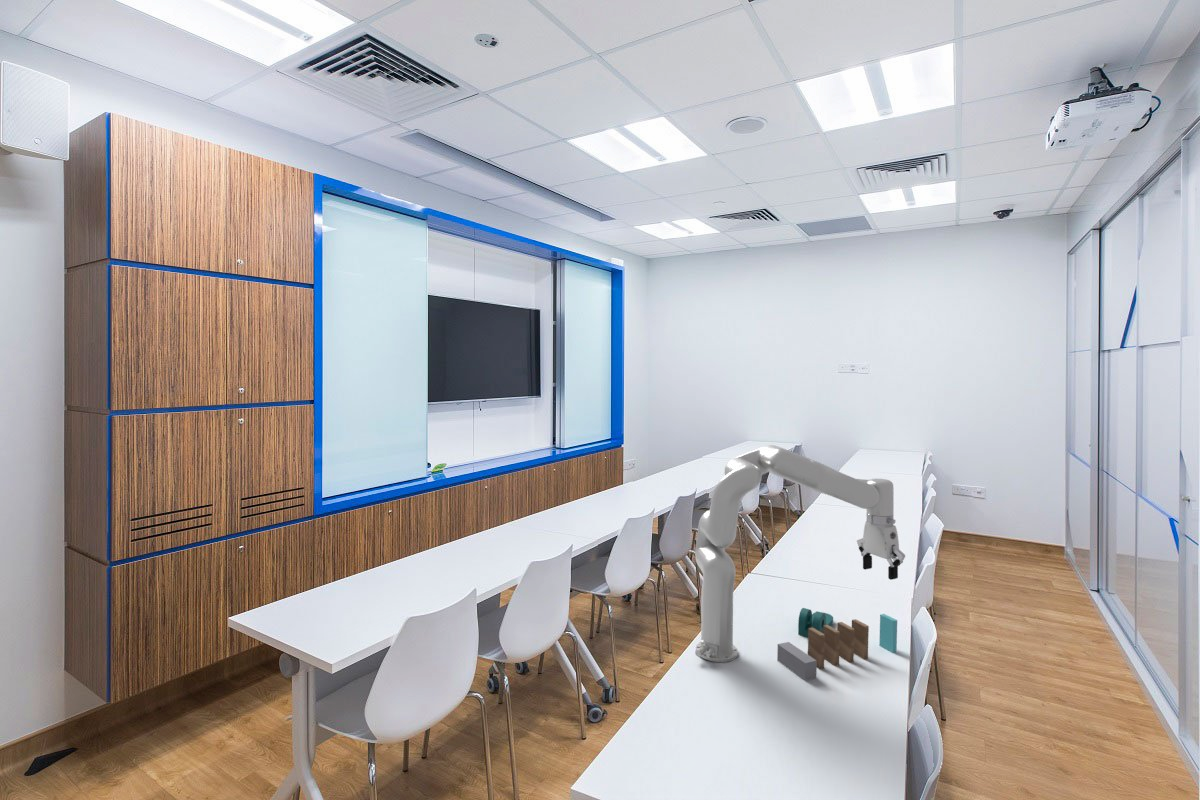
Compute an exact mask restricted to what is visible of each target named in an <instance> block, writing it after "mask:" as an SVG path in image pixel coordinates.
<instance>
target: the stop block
mask: <svg viewBox="0 0 1200 800" xmlns="http://www.w3.org/2000/svg"><path fill="white" fill-rule="evenodd" d="M776 652H777V655H776V656H777V657H776V658H777V662H779V663H780V664H782V665H783V666H784V667H785V668H787V669H788V670H790V671H791V672H793V673H794V674H796V676H798V677H799V678H800V679H802V680H803V681H809V680H814V679H817V669H818V668H817V661H816V660H815V659H813V658H812V657H810V656H809V655H808V653H806V652H804V651H803V650H802V649H800V648H799V647H797V646H796V645H795V644H793V643H791V642H790V641H787V642H781V643H778V644H777V651H776Z"/></svg>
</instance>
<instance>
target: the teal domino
mask: <svg viewBox="0 0 1200 800" xmlns="http://www.w3.org/2000/svg"><path fill="white" fill-rule="evenodd" d="M897 641H898V619H896V618H894V617H892V616H889V615H887V614H885V613H882V614H881V613H880V615H879V642H878V643H879V647H881V648H883V649H884V650H886V651H889V652H890V653H892V654H894V652H895V653H897V651H898V649H897V648H898V647H897V643H898V642H897Z"/></svg>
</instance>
